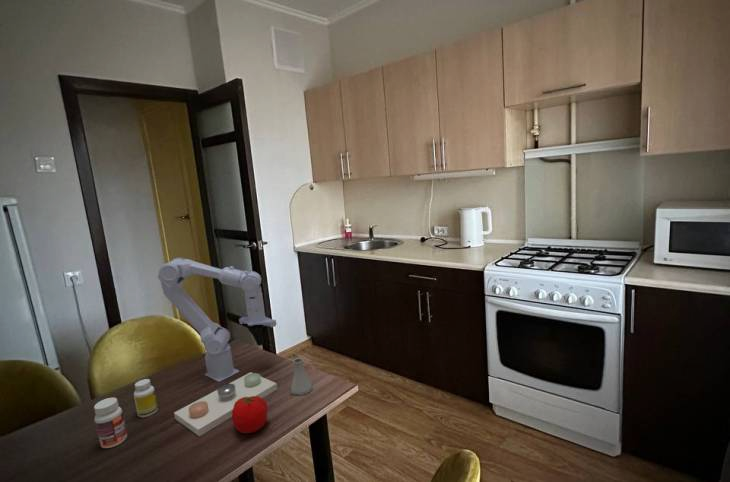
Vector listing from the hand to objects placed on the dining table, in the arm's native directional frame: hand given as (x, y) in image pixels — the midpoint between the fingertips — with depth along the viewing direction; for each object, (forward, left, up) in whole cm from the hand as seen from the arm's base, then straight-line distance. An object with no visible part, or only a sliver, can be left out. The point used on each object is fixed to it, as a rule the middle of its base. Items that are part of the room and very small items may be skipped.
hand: (260, 344), depth 133 cm
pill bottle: (-4, -46, -10) cm, 47 cm away
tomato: (+24, -22, -10) cm, 34 cm away
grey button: (+8, -19, -6) cm, 21 cm away
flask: (+22, -2, -10) cm, 24 cm away
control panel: (+8, -19, -9) cm, 23 cm away
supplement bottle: (-10, -35, -10) cm, 38 cm away
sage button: (+8, -10, -7) cm, 15 cm away
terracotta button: (+8, -28, -7) cm, 30 cm away
